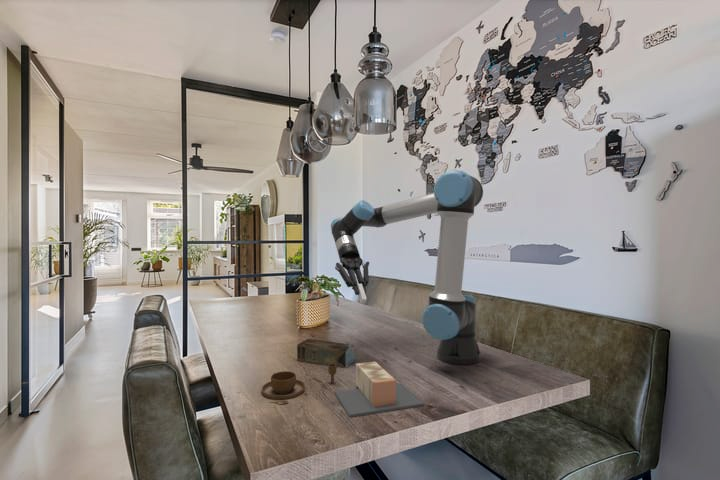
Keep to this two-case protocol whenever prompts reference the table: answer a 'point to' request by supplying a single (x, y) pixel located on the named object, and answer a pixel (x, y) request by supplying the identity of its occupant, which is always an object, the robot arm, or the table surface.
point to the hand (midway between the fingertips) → (363, 301)
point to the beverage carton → (325, 352)
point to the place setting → (289, 384)
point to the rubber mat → (360, 405)
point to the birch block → (376, 384)
